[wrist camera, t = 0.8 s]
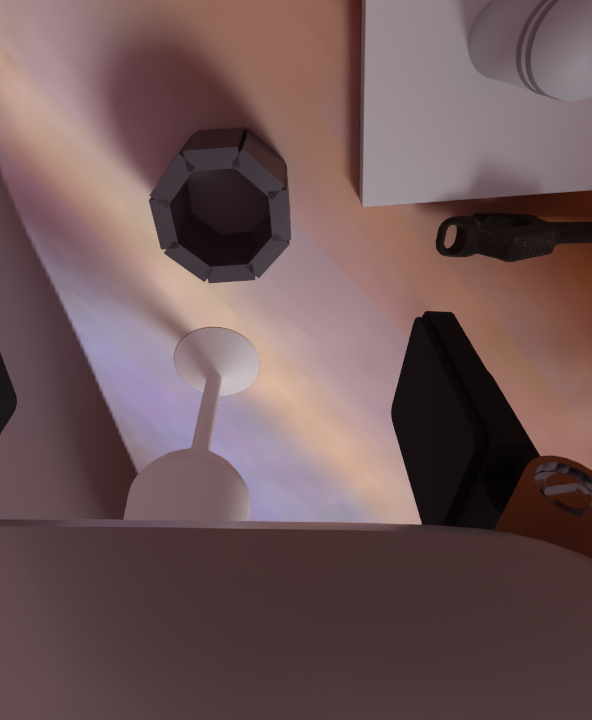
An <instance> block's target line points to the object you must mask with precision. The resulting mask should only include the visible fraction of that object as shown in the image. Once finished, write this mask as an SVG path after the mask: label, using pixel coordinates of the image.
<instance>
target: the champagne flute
mask: <svg viewBox="0 0 592 720" xmlns="http://www.w3.org/2000/svg"><path fill="white" fill-rule="evenodd" d="M174 362H175V367H176V370H177V372H178V374H179V375H180V377H181V378H182V379H183V381H184V382H185V383H186V384H188V385H189V386H190V387H192V388H193V389H195V390H197V391H199V392H202V393H203V396H202V401H201V405H200V410H199V415H198V419H197V424H196V429H195V433H194V438H193V443H192V447H191V448H188V449H182V450H177V451H173V452H170V453H168V454H166V455H164V456H162V457H160V458H158V459H156V460H155V461H153V462H152V463H151V464H149V465H148V466H147V467H146V468H144V469H143V470H142V471H141V472H140V473H139V474H138V476H137V477H136V478H135V480H134V481H133V483H132V485H131V488H130V491H129V495H128V500H127V505H126V510H125V515H124V520H180V521H248V517H249V512H250V495H249V491H248V488H247V486H246V484H245V482H244V481H243V479H242V477H241V476H240V474H239V473H238V471H237V470H236V469H235V468H234V467H233V466H232V465H231V464H230V463H229V462H228V461H227V460H225V459H224V458H222V457H221V456H219V455H217V454H215V453H213V452H211V451H210V447H211V441H212V436H213V430H214V424H215V418H216V412H217V406H218V400H219V396H225V395H232V394H235V393H238V392H240V391H242V390H245V389H246V388H247V387H249V386H250V385H251V384H252V383H253V382H254V380H255V379H256V377H257V375H258V372H259V367H260V361H259V357H258V354H257V352H256V350H255V348H254V347H253V345H252V344H251V343H250V342H249V341H248V340H247V339H246V338H245V337H243V336H241V335H240V334H238V333H236V332H234V331H231V330H228V329H223V328H212V327H210V328H203V329H199V330H196V331H194V332H192V333H190V334H188V335H187V336H186V337H184V338H183V339H182V340H181V341H180V343H179V344H178V346H177V348H176V351H175V355H174Z"/></svg>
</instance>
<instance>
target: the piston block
mask: <svg viewBox="0 0 592 720" xmlns="http://www.w3.org/2000/svg"><path fill="white" fill-rule="evenodd" d="M587 190H592V0H362V17H361V99H360V180H359V200H360V202H361V205H362V207H370V206H383V205H397V204H410V203H424V202H438V201H451V200H465V199H478V198H492V197H506V196H519V195H533V194H546V193H560V192H574V191H587Z"/></svg>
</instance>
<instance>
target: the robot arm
mask: <svg viewBox="0 0 592 720" xmlns="http://www.w3.org/2000/svg"><path fill="white" fill-rule="evenodd" d="M16 405H17V397H16V394H15V391H14V388H13V386H12V383H11V380H10V378H9V375H8V372H7V370H6V367H5V364H4V361H3V359H2V356H1V353H0V433H1V432H2V430H3V429H4V427H5V426H6V424H7V422H8V421H9V419H10V418H11V416H12V415H13V413H14V411H15V409H16ZM391 416H392V422H393V426H394V429H395V433H396V436H397V440H398V443H399V446H400V450H401V453H402V457H403V460H404V464H405V467H406V471H407V474H408V477H409V481H410V484H411V488H412V491H413V495H414V498H415V502H416V505H417V508H418V512H419V515H420V519H421V522H422V525H414V524H380V523H341V522H266V521H180V520H52V519H48V520H47V519H42V520H41V519H0V720H592V470H590V469H588V468H587V467H585V466H583V465H582V464H580V463H578V462H575V461H572V460H570V459H567V458H563V457H558V456H540V455H539V453H538V452H537V450H536V448H535V447H534V445H533V443H532V442H531V440H530V438H529V437H528V435H527V433H526V432H525V430H524V428H523V427H522V425H521V423H520V421H519V420H518V418H517V416H516V415H515V413H514V411H513V410H512V408H511V406H510V405H509V403H508V401H507V400H506V398H505V396H504V395H503V393H502V391H501V390H500V388H499V386H498V385H497V383H496V381H495V380H494V378H493V376H492V375H491V374H490V373H489V372H488V371H487V369H486V368H485V366H484V364H483V363H482V361H481V359H480V358H479V356H478V354H477V353H476V351H475V349H474V348H473V346H472V344H471V342H470V341H469V339H468V337H467V336H466V334H465V332H464V331H463V329H462V327H461V326H460V324H459V322H458V321H457V319H456V317H455V316H454V314H453V313H452V312H436V311H426V312H425V313H424V314H423V316H422V317H417V318H416V319H415V320H414V323H413V327H412V331H411V335H410V338H409V342H408V346H407V350H406V354H405V358H404V361H403V365H402V369H401V373H400V377H399V381H398V385H397V388H396V392H395V396H394V400H393V404H392V410H391Z"/></svg>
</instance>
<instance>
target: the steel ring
mask: <svg viewBox="0 0 592 720" xmlns="http://www.w3.org/2000/svg"><path fill="white" fill-rule="evenodd" d="M234 168H235V169H236V170H237V171H239V172H240V173H241V174H242V175H243V176H244V177H246V178H247V179H248V180H249V181H250V182H252V183H253V184H254V185H255V186H256V187H257V188H259V189H260V190H261V191H262V192H263V193H264V194H266V195H267V196H268V199H269V208H270V212H269V213H268V214H267V216H266V217H265V218H264V219H263V220H262V221H261V223H260V224H259V225H258V226H257V227H256V229H255V230H254V231H253V232H243V233H229V234H219V233H218V232H217V231H215V230H214V229H213V228H211V227H210V226H209V225H208V224H206V223H205V222H204V221H202V220H201V219H200V218H198V217H197V216H196V215H195V214H193V213H192V209H191V203H190V198H189V193H188V188H187V183H186V180H187V179H188V177H189V176H190V174H191V173H192V172H194V171H208V170H221V169H234ZM150 196H151V198H150V200H149V203H150V207H151V211H152V215H153V219H154V223H155V227H156V231H157V235H158V239H159V243H160V247H161V249H166V250H165V252H164V254H166V255H167V256H168V257H170V258H171V259H173V260H174V261H175V262H177V263H178V264H180V265H181V266H183V267H184V268H185V269H187V270H188V271H190V272H191V273H192V274H194V275H195V276H197V277H198V278H199V279H201V280H202V281H204V282H205V280H206V279H207V278H208V282H209V283H219V282H233V281H247V280H255V276H257V277H258V278H259V277H260V276H261V275H262V274H263V273H264V272H265V271H266V270H267V269H268V268H269V266H270V265H271V264H272V263H273V262H274V261H275V260H276V259H277V258H278V256H279V255H280V254H281V253H282V252H283V251H284V250H285V249H286V248H287V246H288V245H289V240H291V227H290V204H289V190H288V177H287V165H285V161H284V160H283V159H282V158H280V157H279V156H278V155H277V154H276V153H275V152H274V151H273V150H272V149H271V148H269V147H268V146H267V145H266V144H265V143H264V142H263V141H262V140H261V139H260V138H258V137H257V136H256V135H255V134H254V133H253V132H252V131H251V130H250V129H248V131H247V132H246V133H245V127H242V128H229V129H216V130H203V131H197V133H196V134H195V133H194V134H193V135H192V136H191V138H190V139H189V140H188V142H187V143H186V144H185V146H184V147H183V148H182V149H181V151H180V152H179V153H178V155H177V156H176V158H175V159H174V161H173V162H172V164H171V165H170V166H169V168H168V169H167V171H166V172H165V174H164V175H163V177H162V178H161V180H160V181H159V183H158V184H157V186H156V187H155V188H154V190H153V191H152V193H151V194H150Z"/></svg>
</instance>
